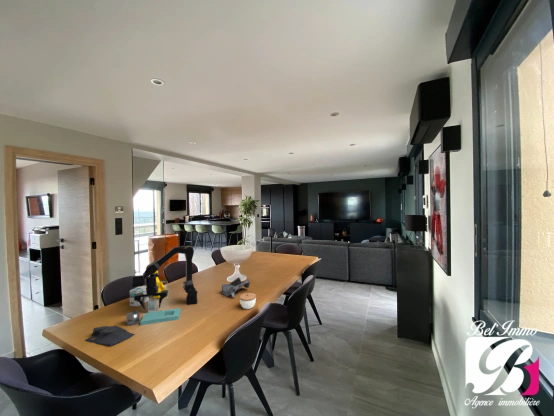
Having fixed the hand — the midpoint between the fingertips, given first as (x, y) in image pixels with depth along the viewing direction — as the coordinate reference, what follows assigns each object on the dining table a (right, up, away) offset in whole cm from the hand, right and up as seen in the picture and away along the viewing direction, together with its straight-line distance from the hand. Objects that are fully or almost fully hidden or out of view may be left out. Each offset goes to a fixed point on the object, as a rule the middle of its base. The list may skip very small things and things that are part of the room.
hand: (152, 308), depth 146 cm
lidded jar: (+62, -1, +2) cm, 62 cm away
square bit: (0, -2, 0) cm, 2 cm away
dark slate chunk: (-6, -3, -28) cm, 29 cm away
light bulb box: (-17, -3, +14) cm, 22 cm away
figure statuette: (-8, -2, +23) cm, 25 cm away
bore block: (+11, -2, -9) cm, 15 cm away
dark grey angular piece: (+49, -1, +29) cm, 57 cm away
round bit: (-3, -3, -14) cm, 15 cm away
